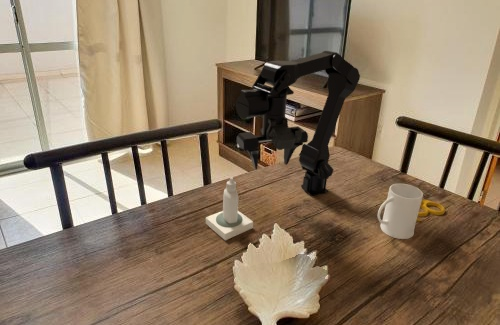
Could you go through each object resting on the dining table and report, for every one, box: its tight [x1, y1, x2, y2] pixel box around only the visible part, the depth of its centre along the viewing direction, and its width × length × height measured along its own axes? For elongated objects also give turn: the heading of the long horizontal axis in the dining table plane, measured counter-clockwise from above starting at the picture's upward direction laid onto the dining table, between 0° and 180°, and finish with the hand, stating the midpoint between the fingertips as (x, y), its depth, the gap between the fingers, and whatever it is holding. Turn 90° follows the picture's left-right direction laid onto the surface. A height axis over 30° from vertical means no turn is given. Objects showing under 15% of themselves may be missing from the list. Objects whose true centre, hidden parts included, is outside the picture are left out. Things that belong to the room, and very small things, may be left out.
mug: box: [377, 183, 424, 240], centre depth 96 cm, size 12×8×12 cm
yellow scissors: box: [416, 198, 446, 222], centre depth 108 cm, size 17×2×10 cm
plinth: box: [205, 210, 254, 241], centre depth 98 cm, size 9×9×2 cm
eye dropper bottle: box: [222, 176, 239, 223], centre depth 95 cm, size 4×6×12 cm
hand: (270, 166), depth 102 cm, fingers open, 9 cm apart
